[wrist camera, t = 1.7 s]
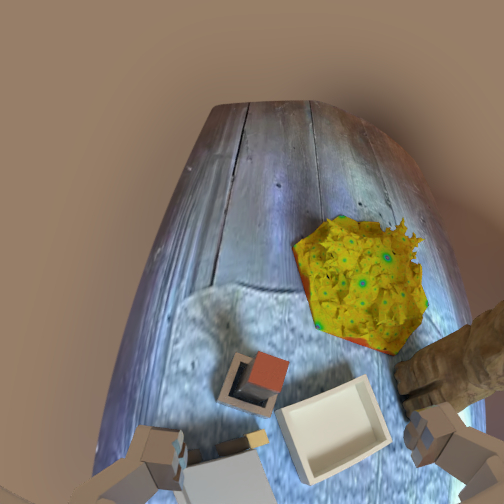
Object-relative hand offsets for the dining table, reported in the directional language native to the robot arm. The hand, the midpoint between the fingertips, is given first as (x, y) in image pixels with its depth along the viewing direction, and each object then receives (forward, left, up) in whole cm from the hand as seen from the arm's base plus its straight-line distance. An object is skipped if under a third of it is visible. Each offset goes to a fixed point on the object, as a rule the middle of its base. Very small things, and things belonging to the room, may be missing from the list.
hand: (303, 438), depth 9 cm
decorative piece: (+33, +17, -32) cm, 49 cm away
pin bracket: (+6, +5, -31) cm, 32 cm away
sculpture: (+32, -6, -31) cm, 45 cm away
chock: (+4, -2, -31) cm, 32 cm away
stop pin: (+6, +5, -31) cm, 32 cm away
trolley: (-2, -7, -31) cm, 32 cm away
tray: (+15, -5, -31) cm, 35 cm away
